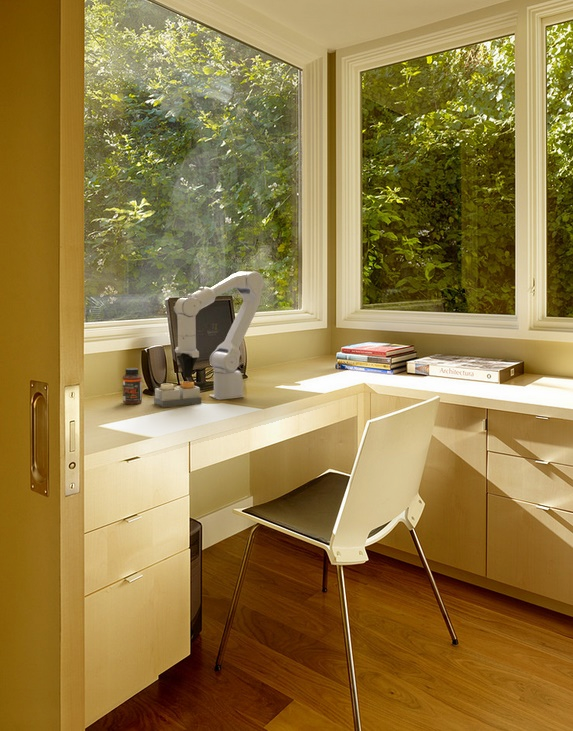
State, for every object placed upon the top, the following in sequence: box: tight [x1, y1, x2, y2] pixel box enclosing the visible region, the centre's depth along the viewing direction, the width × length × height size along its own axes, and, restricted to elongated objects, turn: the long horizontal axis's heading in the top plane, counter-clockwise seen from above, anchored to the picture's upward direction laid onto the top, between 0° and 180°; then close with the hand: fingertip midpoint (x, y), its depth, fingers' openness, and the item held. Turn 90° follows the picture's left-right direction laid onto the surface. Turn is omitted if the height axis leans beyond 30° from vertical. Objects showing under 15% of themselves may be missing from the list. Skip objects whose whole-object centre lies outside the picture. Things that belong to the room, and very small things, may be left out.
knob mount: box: [153, 385, 202, 408], centre depth 201 cm, size 13×8×5 cm, turn 122°
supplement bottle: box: [122, 367, 143, 406], centre depth 200 cm, size 6×6×11 cm
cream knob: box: [160, 382, 175, 391], centre depth 199 cm, size 4×4×2 cm
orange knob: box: [180, 381, 195, 389], centre depth 202 cm, size 4×4×2 cm
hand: (187, 377), depth 202 cm, fingers closed
